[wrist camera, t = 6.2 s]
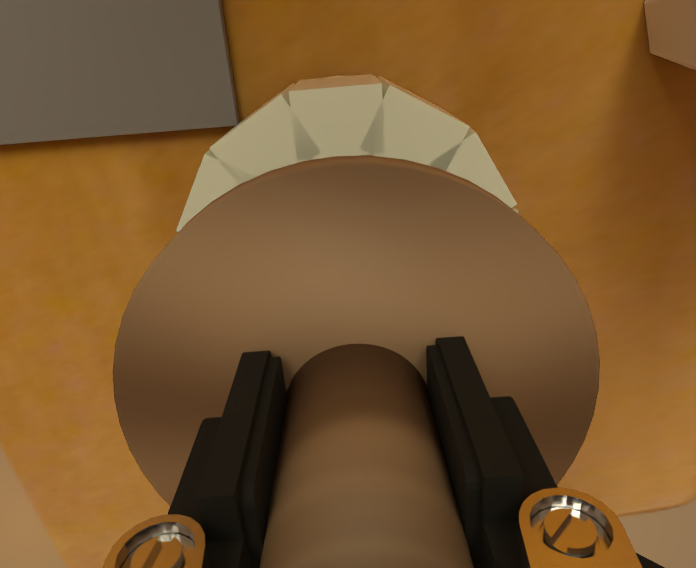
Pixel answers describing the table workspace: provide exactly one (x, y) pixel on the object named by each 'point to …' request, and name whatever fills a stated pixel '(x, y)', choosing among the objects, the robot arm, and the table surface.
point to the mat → (112, 68)
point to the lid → (354, 348)
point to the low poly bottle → (672, 30)
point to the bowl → (343, 136)
